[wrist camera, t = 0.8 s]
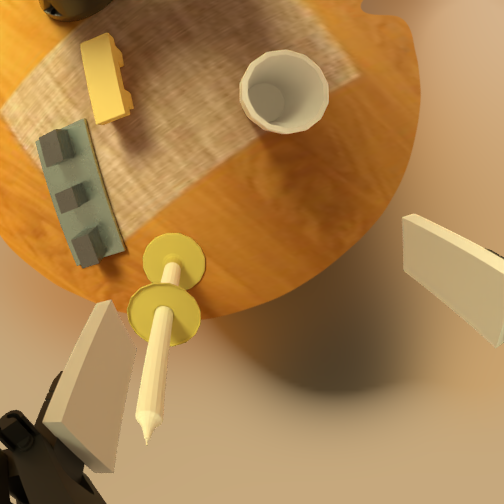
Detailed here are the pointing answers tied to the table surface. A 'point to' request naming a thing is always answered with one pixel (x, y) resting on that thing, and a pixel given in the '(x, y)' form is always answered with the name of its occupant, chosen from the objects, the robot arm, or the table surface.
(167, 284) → the candle
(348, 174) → the table surface
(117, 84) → the yellow arch-shaped block
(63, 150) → the rail
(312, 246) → the table surface
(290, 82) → the foam cup
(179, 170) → the table surface
